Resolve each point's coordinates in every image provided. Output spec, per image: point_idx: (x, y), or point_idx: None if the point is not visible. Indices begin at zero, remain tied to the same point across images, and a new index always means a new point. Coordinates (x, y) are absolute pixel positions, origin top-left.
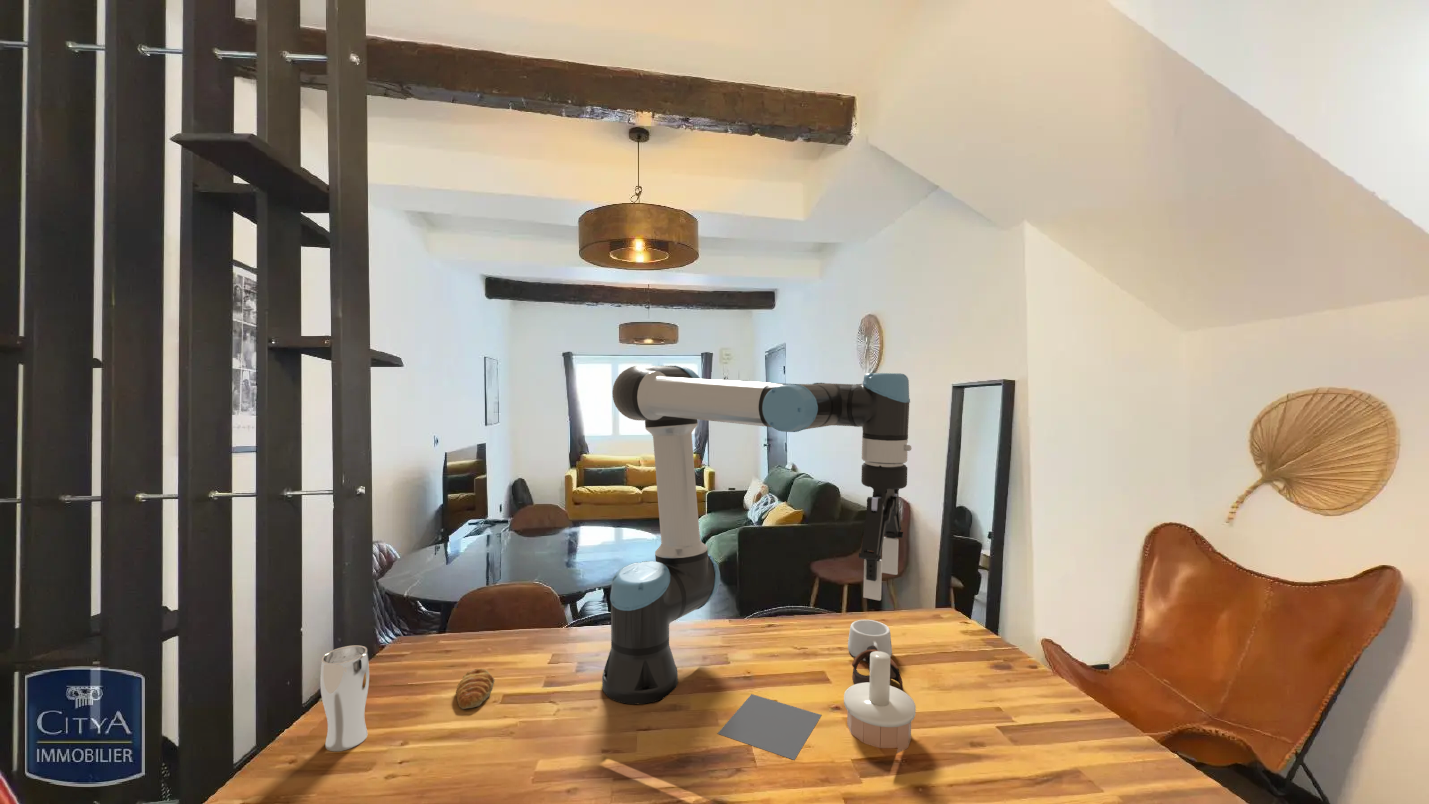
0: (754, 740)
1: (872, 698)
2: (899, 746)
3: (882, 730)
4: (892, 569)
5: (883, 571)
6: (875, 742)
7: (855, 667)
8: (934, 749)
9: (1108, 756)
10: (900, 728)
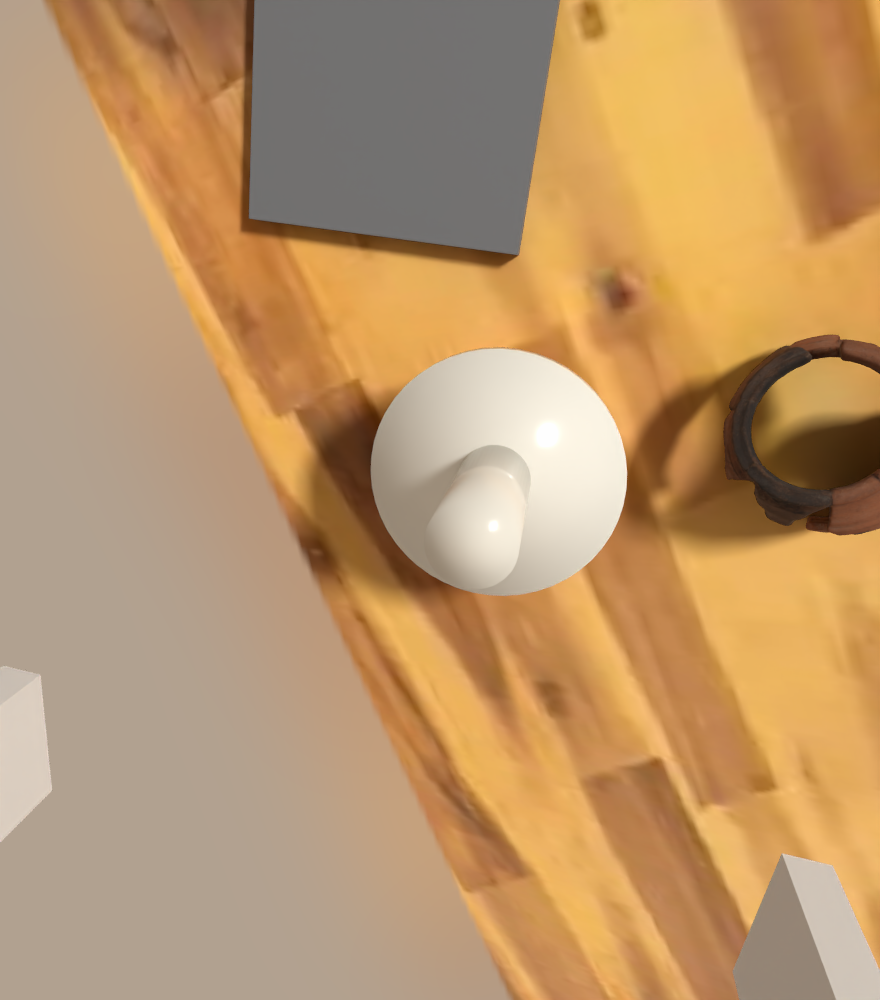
0: (280, 48)
1: (463, 462)
2: None
3: None
4: (757, 994)
5: (777, 882)
6: None
7: (840, 353)
8: (488, 595)
9: (601, 945)
10: None
